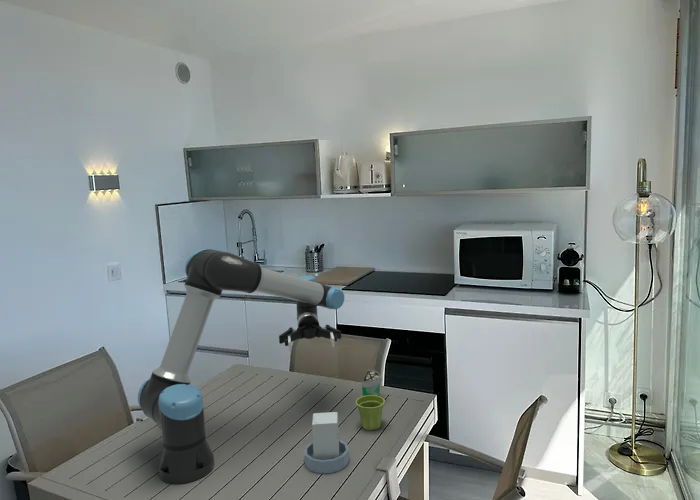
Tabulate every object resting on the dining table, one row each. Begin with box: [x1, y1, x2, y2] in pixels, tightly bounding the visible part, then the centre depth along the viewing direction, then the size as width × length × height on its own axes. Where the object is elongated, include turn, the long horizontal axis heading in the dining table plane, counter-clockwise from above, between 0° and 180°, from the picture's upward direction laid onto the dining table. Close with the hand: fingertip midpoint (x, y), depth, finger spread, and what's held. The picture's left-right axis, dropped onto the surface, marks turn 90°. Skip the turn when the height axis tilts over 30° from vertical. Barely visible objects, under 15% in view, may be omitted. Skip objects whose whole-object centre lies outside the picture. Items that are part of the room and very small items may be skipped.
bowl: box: [303, 439, 350, 475], centre depth 148 cm, size 13×13×4 cm
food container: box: [361, 368, 383, 396], centre depth 185 cm, size 12×6×10 cm, turn 168°
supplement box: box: [311, 411, 340, 460], centre depth 147 cm, size 7×7×13 cm
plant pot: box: [355, 395, 386, 431], centre depth 167 cm, size 9×9×9 cm
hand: (311, 344), depth 159 cm, fingers open, 13 cm apart
